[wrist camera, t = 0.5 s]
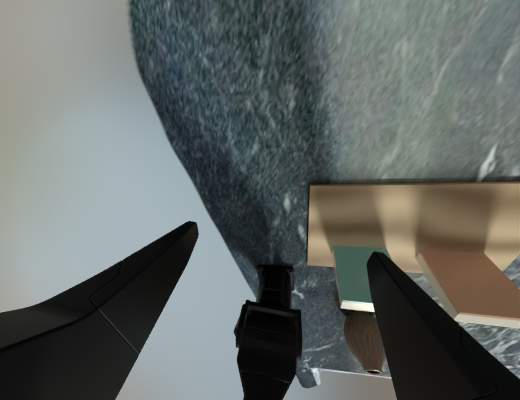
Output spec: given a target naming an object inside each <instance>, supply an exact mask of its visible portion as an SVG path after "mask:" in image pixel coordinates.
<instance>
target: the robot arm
mask: <svg viewBox="0 0 520 400" xmlns="http://www.w3.org/2000/svg"><path fill="white" fill-rule="evenodd" d="M198 235H199V234H198V227H197V223H196V222H192V221H188V222H186V223H184V224H183V225H181V226H179V227H178V228H176V229H174V230H173V231H171V232H169V233H167V234H166V235H164V236H162V237H161V238H159V239H157V240H156V241H154V242H152V243H150V244H149V245H147V246H145V247H144V248H142V249H140V250H139V251H137V252H135V253H133V254H132V255H130V256H128V257H127V258H125V259H124V260H123V261H120V262H118V263H116V264H115V265H113V266H111V267H109V268H108V269H106V270H104V271H102V272H101V273H99V274H97V275H95V276H93V277H91V278H89V279H88V280H86V281H84V282H82V283H80V284H78V285H76V286H74V287H72V288H70V289H68V290H66V291H64V292H62V293H60V294H58V295H56V296H54V297H52V298H50V299H48V300H46V301H44V302H41V303H39V304H36V305H33V306H30V307H26V308H22V309H17V310H12V311H7V312H2V313H0V400H115V399H116V397H117V395H118V394H119V392H120V390H121V388H122V386H123V384H124V382H125V380H126V378H127V377H128V375H129V373H130V371H131V369H132V367H133V365H134V363H135V362H136V360H137V358H138V356H139V355H138V354H140V352H141V349H142V348H143V346H144V344H145V342H146V341H147V339H148V337H149V335H150V333H151V331H152V329H153V327H154V326H155V323H156V322H157V320H158V318H159V316H160V314H161V312H162V311H163V308H164V307H165V305H166V303H167V301H168V299H169V297H170V295H171V294H172V292H173V290H174V288H175V286H176V284H177V282H178V280H179V278H180V277H181V275H182V273H183V271H184V269H185V267H186V265H187V263H188V261H189V259H190V256H191V254H192V251H193V248H194V246H195V244H196V241H197V239H198ZM257 273H258V277H259V287H258V293H257V298H256V302H252V301H249V300H246V303H245V304H244V305H242V309H241V314H240V317H239V319H238V322H237V324H236V326H235V329H234V334H235V336H236V347H237V348H239V351H238V356H237V364H238V368H239V373H240V378H241V382H242V387H243V392H244V399H243V400H283V398H284V396H285V394H286V392H287V390H288V388H289V386H290V384H291V383H292V380H293V379H294V377H295V375H296V364H297V361H300V360H301V354H302V325H301V310H299V309H297V310H295V309H291V291H293V290H294V269H293V268H291V267H278V266H265V265H258V266H257ZM367 273H368V280H369V287H370V294H371V299H372V303H373V307H374V311H375V315H376V319H377V323H378V327H379V331H380V335H381V338H382V342H383V346H384V350H385V354H386V358H387V362H388V366H389V370H390V374H391V377H392V381H393V385H394V389H395V393H396V397H397V400H520V379H519V378H518V377H517V376H515V375H514V374H513V373H512V372H511V371H510V370H508V369H507V368H506V367H505V366H504V365H503V364H502V363H501V362H499V361H498V360H497V359H496V358H495V357H494V356H493V355H491V354H490V353H489V352H488V351H487V350H486V349H485V348H484V347H483V346H482V345H481V344H479V343H478V342H477V341H476V340H475V339H474V338H473V337H472V336H471V335H470V334H469V333H468V332H467V331H466V330H465V329H463V328H462V327H461V326H459V324H458V323H457V322H456V321H455V320H454V319H453V318H452V317H451V316H450V315H449V314H448V313H447V312H446V311H444V310H443V309H442V308H441V307H440V306H439V305H438V304H437V303H436V302H435V301H434V300H433V299H432V298H431V297H430V296H429V295H428V294H427V293H426V292H425V291H423V290H422V289H421V288H420V287H419V286H418V285H417V284H416V283H415V282H414V281H413V280H412V279H411V278H410V277H409V276H408V275H407V274H406V273H405V272H404V271H402V270H401V269H400V268H399V267H398V266H397V265H396V264H395V263H394V262H393V261H392V260H391V259H390V258H389V257H388V256H387V255H386V254H385V253H383V252H377V251H374V252H373V253H372V254H371V256H370V258H369V259H368V261H367Z"/></svg>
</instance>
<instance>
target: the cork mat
mask: <svg viewBox="0 0 520 400" xmlns="http://www.w3.org/2000/svg"><path fill="white" fill-rule="evenodd" d="M333 246H351V247H372V248H387V250H388V253H389V255H390V257H391V259H392V261H393V262H394V263H395V264H396V265H397V266H398V267H399V268H400V269H401V270H402V271H404V272H414V273H424V272H423V271H422V269H421V267H420V266H419V264H418V262H417V261H416V259H415V258H416V256H417V254H418V252H419V251H420V250H434V251H455V252H475V253H485V255H486V256H487V257H488V258H489V259H490V260H491V261H492V262H493V263H494V264H495V265H496V266H497V267H498V268H499V269H500V270H501V271H502V272H503V270H504V269H505V268H506V267H507V266H508V265H509V264H510V263H511V262H512V261H513V260H514V259H515V258H516V257H517V256H518V255H519V254H520V181H518V182H453V183H389V184H324V185H310V198H309V229H308V260H307V265H315V266H329V267H334V265H333V258H332V248H333Z"/></svg>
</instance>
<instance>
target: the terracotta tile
mask: <svg viewBox="0 0 520 400" xmlns="http://www.w3.org/2000/svg"><path fill="white" fill-rule="evenodd" d="M415 259H416V261H417V262H418V264H419V266H420V267H421V269H422V271H423V272H424V274H425V276H426V277H427V279H428V281H429V283H430V284H431V286H432V288H433V289H434V291H435V293H436V294H437V296H438V298H439V300H440V301H441V303H442V305H443V306H444V308H445V310H446V311H447V313H448V314H449V315H450V316H451V317H452V318H453V319H454V320H455V321H459V322H467V323H476V324H485V325H494V326H503V327H512V328H520V290H519V289H518V287H517V286H516V285H515V284H514V283H513V282H512V281H511V280H510V279H509V278H508V277H507V276H506V275H505V274H504V273H503V272H502V271H501V270H500V269H499V268H498V267H497V266H496V265H495V264H494V263H493V262H492V261H491V260H490V259H489V258H488V257H487V256H486V255H485V253H475V252H455V251H434V250H420V251H419V252H418V254H417V256H416V258H415Z"/></svg>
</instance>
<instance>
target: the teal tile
mask: <svg viewBox="0 0 520 400" xmlns="http://www.w3.org/2000/svg"><path fill="white" fill-rule="evenodd" d="M374 251H377V252H383V253H385V254H386V255H387V256H388V257H389V258H390V259H391V257H390V255H389V253H388V250H387V248H372V247H351V246H333V248H332V258H333V265H334V271H335V277H336V283H337V289H338V295H339V301H340V307H341V308H343V309H352V310H361V311H370V312H375V311H374V307H373V303H372V299H371V294H370V287H369V280H368V273H367V261H368V259H369V258H370V256H371V254H372V253H373V252H374ZM391 260H392V259H391Z"/></svg>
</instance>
